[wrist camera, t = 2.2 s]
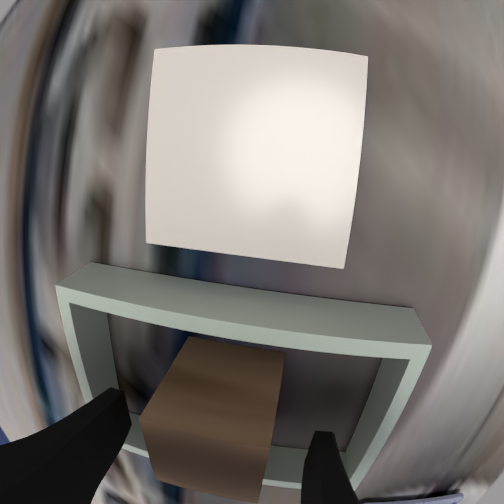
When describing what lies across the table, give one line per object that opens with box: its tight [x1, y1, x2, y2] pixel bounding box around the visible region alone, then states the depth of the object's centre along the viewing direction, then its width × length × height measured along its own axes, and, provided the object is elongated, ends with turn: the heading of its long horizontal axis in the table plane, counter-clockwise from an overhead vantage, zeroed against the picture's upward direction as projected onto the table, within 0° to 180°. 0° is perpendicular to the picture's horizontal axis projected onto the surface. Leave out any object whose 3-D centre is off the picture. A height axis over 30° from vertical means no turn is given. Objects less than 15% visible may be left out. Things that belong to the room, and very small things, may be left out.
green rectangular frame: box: [55, 262, 432, 491], centre depth 12 cm, size 9×13×2 cm
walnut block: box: [139, 336, 285, 503], centre depth 11 cm, size 4×4×5 cm
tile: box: [146, 45, 368, 269], centre depth 10 cm, size 7×7×1 cm
